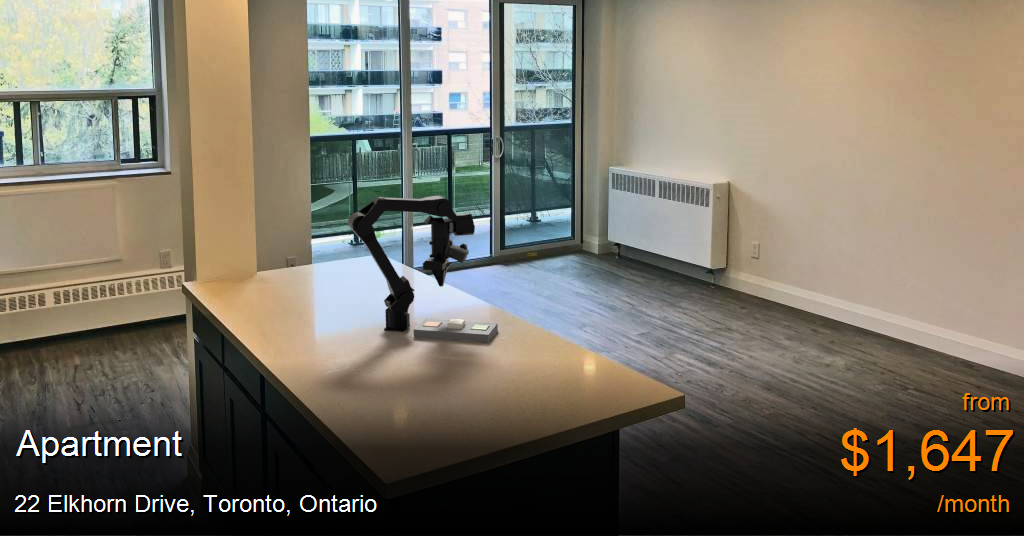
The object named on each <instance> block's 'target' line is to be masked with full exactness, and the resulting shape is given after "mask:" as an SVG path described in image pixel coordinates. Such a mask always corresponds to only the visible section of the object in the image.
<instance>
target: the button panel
mask: <svg viewBox="0 0 1024 536" xmlns="http://www.w3.org/2000/svg"><path fill="white" fill-rule="evenodd" d="M450 320H451V319H444V318H440V319H439V318H428V317H427V318H424V319H423V320H422V321H420V323H419V324H417V326H415V328H413V338H415V339H416V338H419V339H431V340H445V341H459V342H460V341H461V342H472V343H473V342H475V343H484V344H489V343H490V342H491V340H492V339H493V337H495V335H496V333H497V332H498V331H499V329H498V325H499V324H498V322H485V321H484V322H483V321H472V320H465V326H464V327H463V329H452V328H447V323H448V322H449V321H450ZM427 321H429V322H441V325H440V326H439V327H423V325H424V324H425V323H426V322H427ZM474 325H489V328H488V329H487V331H481V330H471V328H472V327H473V326H474Z"/></svg>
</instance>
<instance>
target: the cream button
mask: <svg viewBox="0 0 1024 536" xmlns="http://www.w3.org/2000/svg"><path fill="white" fill-rule="evenodd" d="M449 320H450V321H449V322H448V323H447V328H452V329H463V327H464V326H465V321H466V319H458V318H457V319H456V318H450V319H449Z"/></svg>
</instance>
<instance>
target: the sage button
mask: <svg viewBox="0 0 1024 536" xmlns="http://www.w3.org/2000/svg"><path fill="white" fill-rule="evenodd" d="M488 328H489V325H474V326H473V327H472V328H471V330H481V331H487V329H488Z"/></svg>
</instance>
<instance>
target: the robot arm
mask: <svg viewBox="0 0 1024 536" xmlns="http://www.w3.org/2000/svg"><path fill="white" fill-rule="evenodd" d="M385 212H403V213H405V212H408V213H423V214H426V215H428V217H427V218H425V219H424V220H423V222H424V223H425V224H427V225H430V228H431V229H430V231H431V232H430V237H431V239H430V241H429V245H430V246H431V249H430V250H431V253H430V254H429V257H427V259H426V260H424V261H423V262H422V270H425V271H431V273H432V274H433V277H434V279H435V280H436V283H437V285H438V287H439V288H440V287H444V284H445V280H446V276H447V272H448V269H449V268H450V267H451V266H452V265H453V264H454V262H452V261H451V262H450V260H449V259H453V260H454V261H457V262H458V263H462V264H463V263H464V262H465V261H467V257H468V255H469V252H470V251H469V249H468V245H467V244H465V243H464V242H463V243H461V244H459V245H458V244H457V245H456V244H454V242H453V240H452V239H451V234H453V236H454V237H461V236H473V235H474V234H475V231H476V229H475V228H476V226H475V224H474V223H475V222H474V219H473V214H472V213H470V212H466V213H458V214H456V213H455V211H454V210H453V209H452V203H451V201H450V200H449V199H448V198H446V197H443V196H441V195H431V196H425V197H422V198H407V197H405V198H403V197H384V196H376V197H374V199H373V200H372V201H371V202H370V203H368V204H367V205H365V206H364V207H363V206H362V208H361V209H359V211H357V212H354V213H352V214H351V215H350V216H349V217H348V221H347V224H348V227H349V228H350V230H352V232H353V233H354V234H355V235H356V236H357V237H358V238H359V239H360V241H361V242H363V244H364V245H365V247H366V248H367V251H368V252H369V253H370V255H371V258H372V259H373V261H374V262H375V264H376V266H377V267H378V268H379V270H380V272H381V273H382V275H383V277H384V279H385V280H386V284H387V288H388V290H389V295H387V296H386V298H384V300H383V303H384V305H385V306H386V307H387V308H386V309H384V311H385V327H384V328H383V331H388V332H390V331H391V332H402V333H403V332H405V331H407V329H409V328H410V327H411V323H410V322H411V320H410V317H411V316H410V313H409V309H410V306H411V304H412V303H413V302H414V301H415V293H414V292H415V289H414V288H413V287H412V285H411V283H410V281H409V279H408V278H406V276H404V275H401V276H399V274H398V272H397V271H396V269H395V267H394V266H393V264H392V263H391V260H390V259H389V258H388V256H387V254H386V252H385V251H384V249H383V247H382V246H381V244H380V242H379V241H378V239H377V235H376V231H375V228H374V224H375V223H376V222H377V221H378V220H379V218H381V216H382V215H383V214H384V213H385ZM433 216H436V217H433ZM445 217H446V218H448V219H444V218H445ZM450 233H451V234H450Z"/></svg>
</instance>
